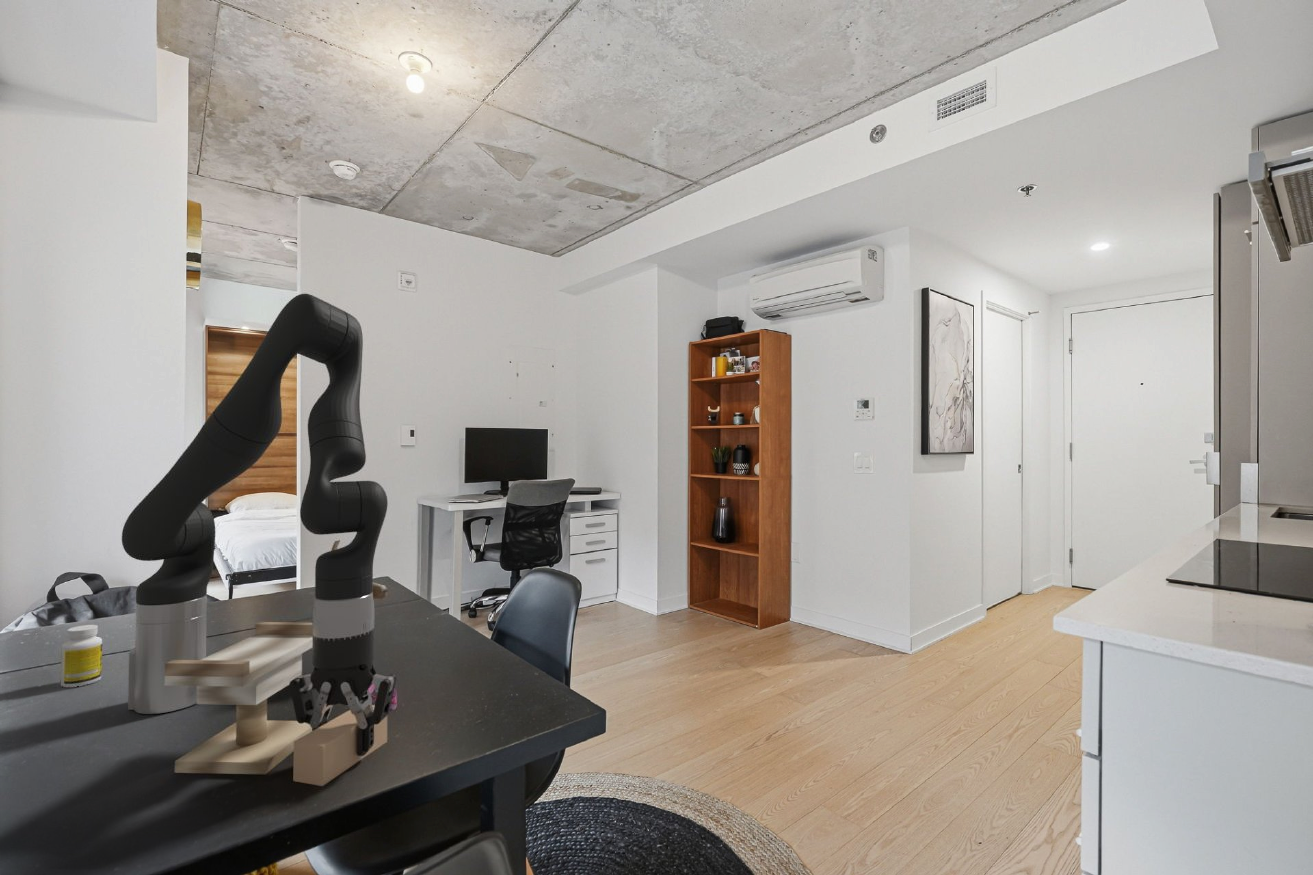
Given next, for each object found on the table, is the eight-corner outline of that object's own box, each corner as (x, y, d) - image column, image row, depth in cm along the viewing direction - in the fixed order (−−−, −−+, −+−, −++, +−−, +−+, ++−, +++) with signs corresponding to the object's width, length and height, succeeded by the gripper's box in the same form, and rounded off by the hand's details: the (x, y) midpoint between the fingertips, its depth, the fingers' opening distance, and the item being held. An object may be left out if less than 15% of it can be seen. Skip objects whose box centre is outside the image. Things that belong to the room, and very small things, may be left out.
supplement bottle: (108, 679, 111) (109, 625, 111) (69, 690, 106) (70, 633, 106) (92, 674, 114) (93, 621, 114) (54, 685, 109) (55, 629, 109)
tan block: (293, 780, 78) (293, 741, 78) (360, 737, 90) (361, 703, 90) (322, 786, 77) (323, 746, 77) (387, 741, 89) (387, 706, 89)
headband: (362, 693, 107) (363, 680, 107) (387, 688, 109) (387, 675, 109) (374, 715, 98) (374, 701, 98) (400, 710, 100) (400, 696, 100)
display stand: (155, 785, 77) (157, 662, 77) (253, 720, 95) (254, 621, 95) (249, 787, 77) (250, 664, 77) (329, 722, 95) (330, 622, 95)
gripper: (407, 620, 87) (407, 740, 87) (308, 619, 88) (307, 738, 87) (383, 636, 80) (381, 768, 80) (274, 635, 80) (273, 766, 80)
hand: (342, 752), depth 83 cm, fingers closed on tan block, 5 cm apart
